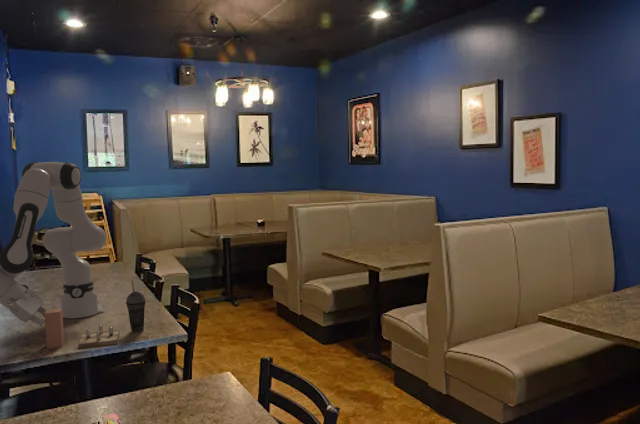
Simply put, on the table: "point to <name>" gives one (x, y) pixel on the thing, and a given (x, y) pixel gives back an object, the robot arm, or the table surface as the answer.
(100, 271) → the table surface
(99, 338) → the pin plate
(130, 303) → the beverage cup
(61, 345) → the terracotta post
